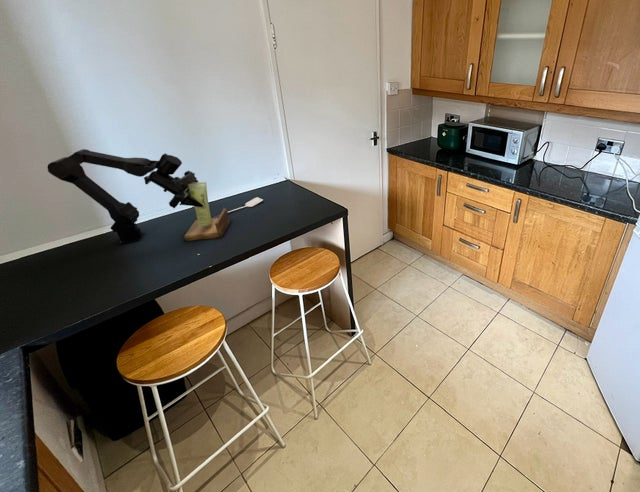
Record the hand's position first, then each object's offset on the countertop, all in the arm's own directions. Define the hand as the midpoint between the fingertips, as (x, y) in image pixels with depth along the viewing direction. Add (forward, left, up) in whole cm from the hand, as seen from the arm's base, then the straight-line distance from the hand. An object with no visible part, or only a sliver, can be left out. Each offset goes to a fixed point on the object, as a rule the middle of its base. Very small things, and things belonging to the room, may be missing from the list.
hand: (204, 204), depth 134 cm
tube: (-2, 0, -10) cm, 10 cm away
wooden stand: (-1, 0, -13) cm, 13 cm away
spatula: (+8, +17, -13) cm, 23 cm away
